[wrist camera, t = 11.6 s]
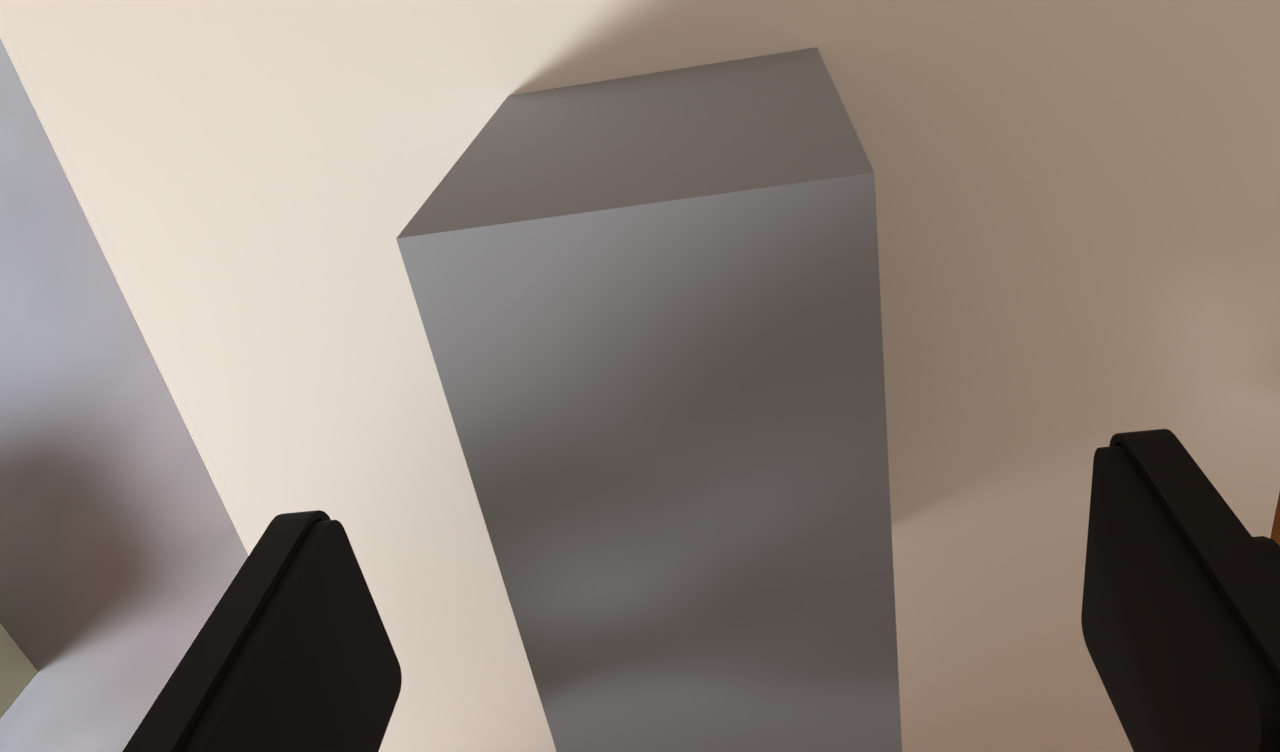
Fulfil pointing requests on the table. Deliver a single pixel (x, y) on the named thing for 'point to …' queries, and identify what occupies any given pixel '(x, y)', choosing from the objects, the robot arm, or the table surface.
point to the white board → (908, 270)
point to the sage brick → (12, 671)
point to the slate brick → (676, 404)
